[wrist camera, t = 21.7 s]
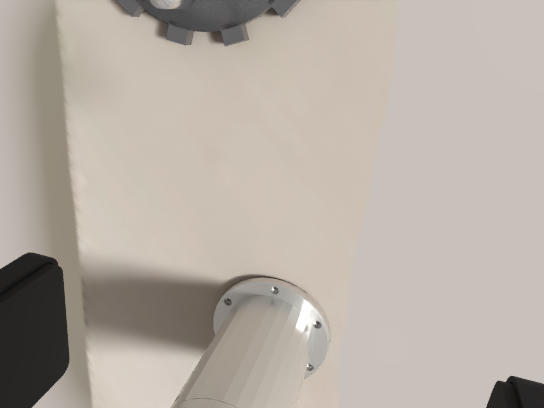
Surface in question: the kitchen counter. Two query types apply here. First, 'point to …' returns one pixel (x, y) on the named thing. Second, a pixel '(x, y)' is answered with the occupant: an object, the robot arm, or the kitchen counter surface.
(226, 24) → the sprocket wheel
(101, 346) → the kitchen counter surface
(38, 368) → the robot arm
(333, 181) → the kitchen counter surface
